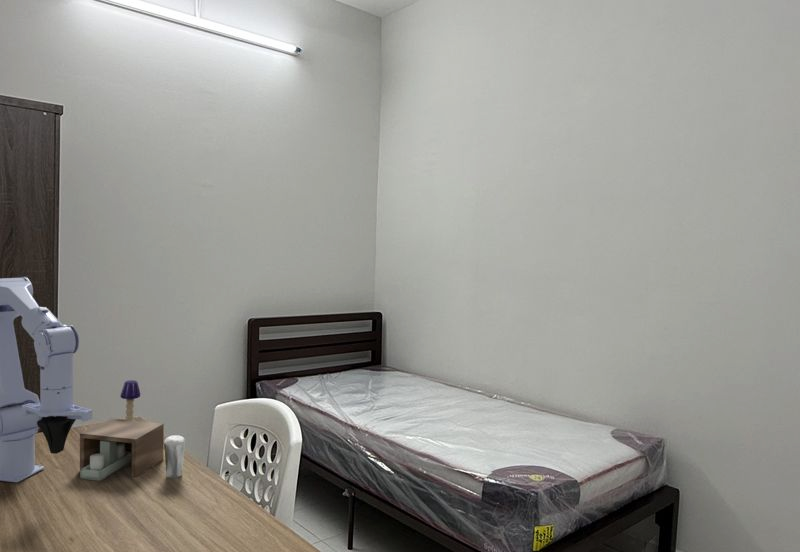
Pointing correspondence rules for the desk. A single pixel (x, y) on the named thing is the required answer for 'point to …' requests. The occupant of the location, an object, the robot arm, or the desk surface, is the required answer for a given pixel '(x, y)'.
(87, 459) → the brown open box
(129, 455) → the caddy
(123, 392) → the toy lamp
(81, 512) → the desk surface
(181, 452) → the milkshake
